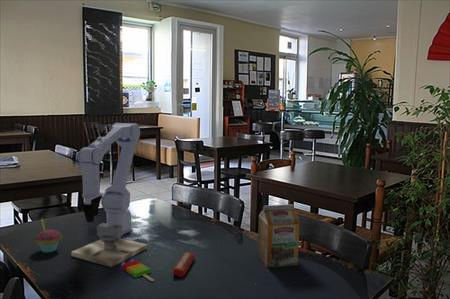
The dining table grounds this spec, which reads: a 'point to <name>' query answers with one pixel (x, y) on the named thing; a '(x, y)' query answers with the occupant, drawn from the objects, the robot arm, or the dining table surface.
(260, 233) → the milk carton
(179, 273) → the candy bar
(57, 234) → the cupcake
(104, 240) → the grey block
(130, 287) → the dining table surface
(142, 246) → the post base
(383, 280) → the dining table surface
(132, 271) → the popsicle
